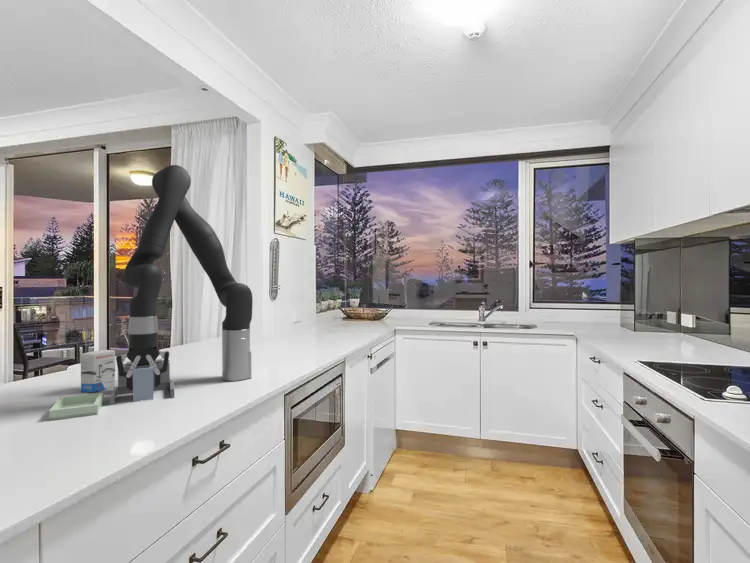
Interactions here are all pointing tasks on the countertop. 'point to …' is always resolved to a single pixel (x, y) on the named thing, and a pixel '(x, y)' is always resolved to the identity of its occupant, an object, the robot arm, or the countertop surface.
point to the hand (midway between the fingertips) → (143, 388)
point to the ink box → (97, 370)
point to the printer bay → (164, 382)
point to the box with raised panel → (143, 383)
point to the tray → (76, 406)
